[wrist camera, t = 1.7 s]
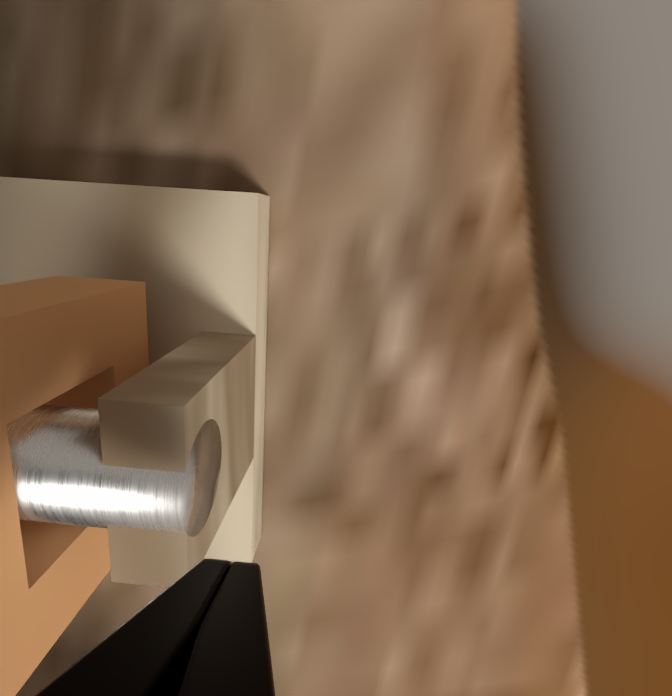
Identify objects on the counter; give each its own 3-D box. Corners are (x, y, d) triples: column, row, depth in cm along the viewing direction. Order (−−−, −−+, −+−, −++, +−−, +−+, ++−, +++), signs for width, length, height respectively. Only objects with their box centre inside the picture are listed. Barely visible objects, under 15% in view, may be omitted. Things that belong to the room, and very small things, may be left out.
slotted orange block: (145, 281, 12) (-181, 363, 5) (155, 509, 14) (-73, 813, 7) (59, 275, 12) (-385, 347, 5) (80, 501, 14) (-223, 792, 7)
